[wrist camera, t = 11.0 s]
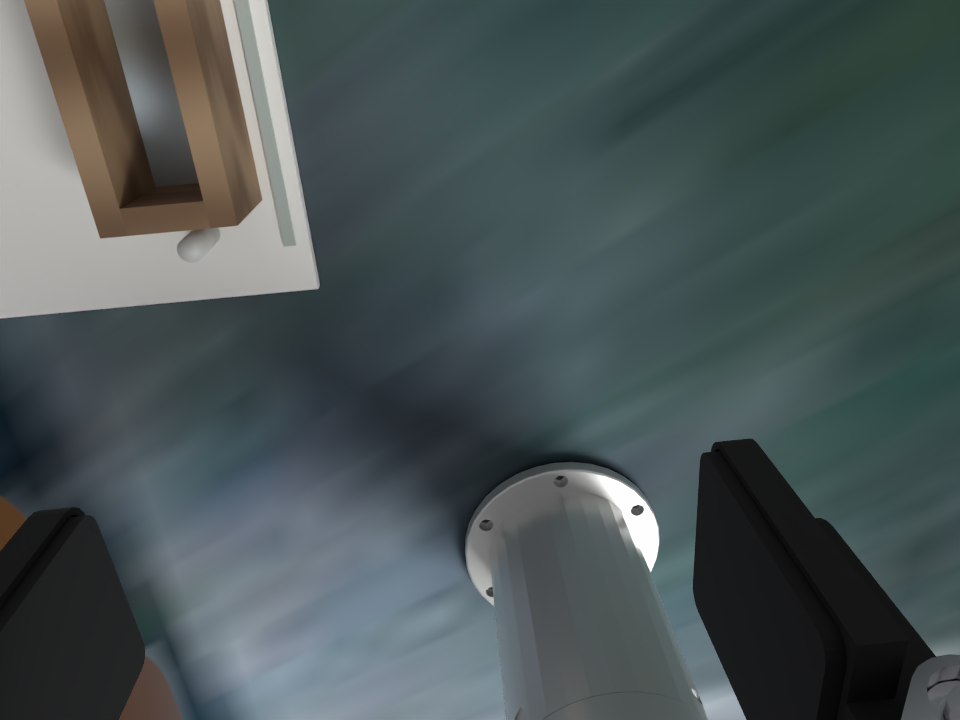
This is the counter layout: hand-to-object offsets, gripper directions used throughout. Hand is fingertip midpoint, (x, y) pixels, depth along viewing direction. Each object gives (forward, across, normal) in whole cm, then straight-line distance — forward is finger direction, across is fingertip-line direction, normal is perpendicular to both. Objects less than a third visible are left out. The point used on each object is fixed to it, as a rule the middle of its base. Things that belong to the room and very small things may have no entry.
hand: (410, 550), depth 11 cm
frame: (+27, +11, -7) cm, 31 cm away
